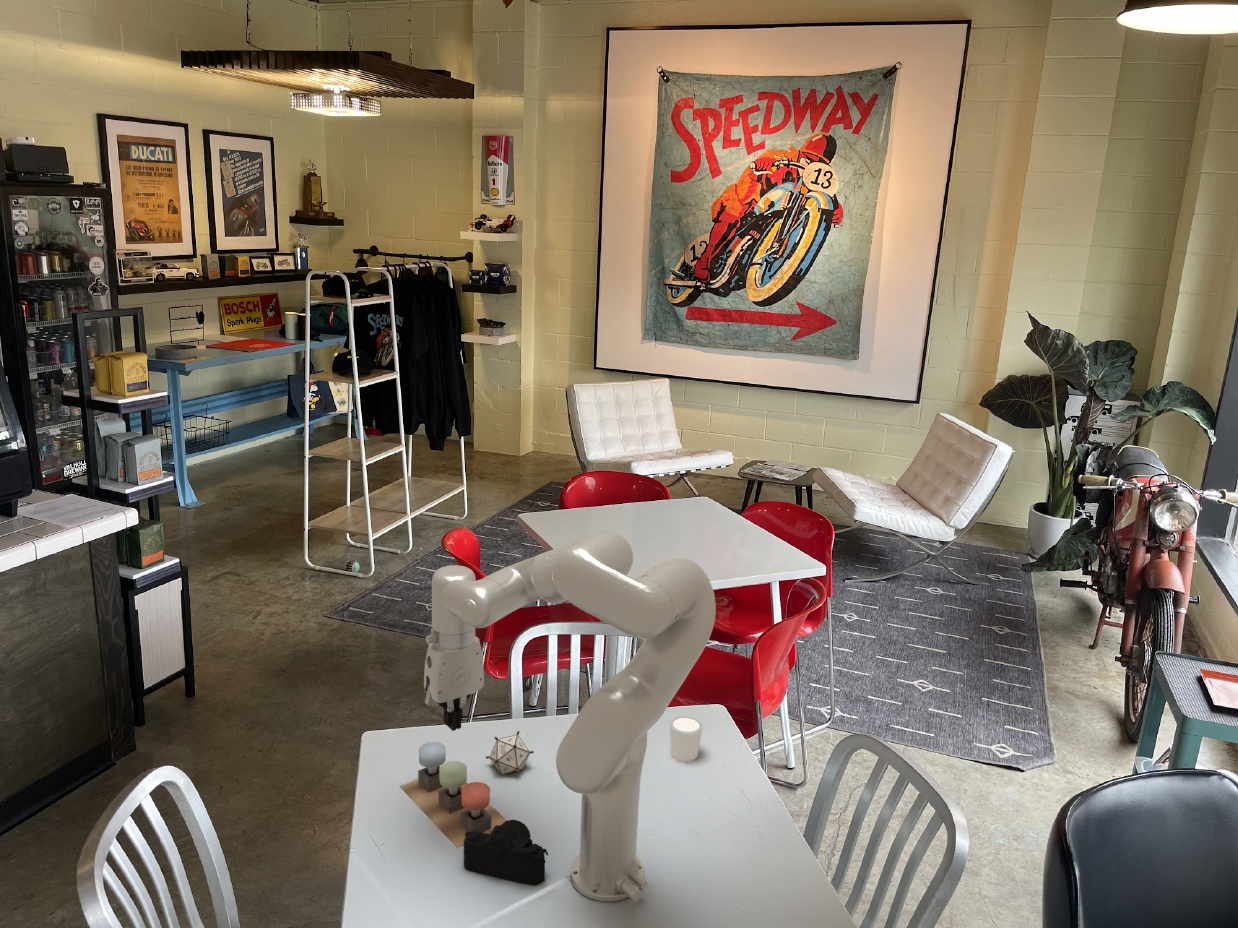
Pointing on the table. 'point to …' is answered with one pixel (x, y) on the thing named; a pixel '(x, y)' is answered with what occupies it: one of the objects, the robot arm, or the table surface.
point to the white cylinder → (685, 738)
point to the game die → (509, 754)
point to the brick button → (475, 797)
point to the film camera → (505, 854)
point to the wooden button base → (449, 808)
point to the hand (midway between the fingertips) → (453, 725)
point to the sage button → (453, 776)
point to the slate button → (432, 756)
